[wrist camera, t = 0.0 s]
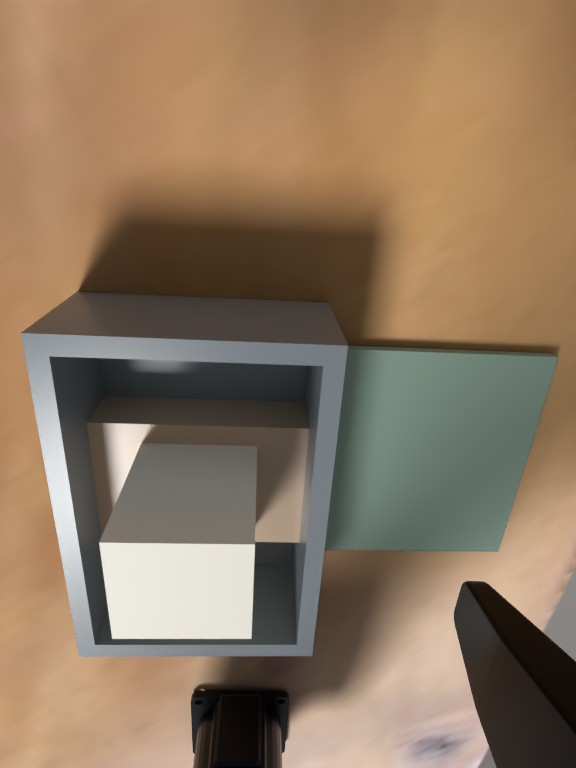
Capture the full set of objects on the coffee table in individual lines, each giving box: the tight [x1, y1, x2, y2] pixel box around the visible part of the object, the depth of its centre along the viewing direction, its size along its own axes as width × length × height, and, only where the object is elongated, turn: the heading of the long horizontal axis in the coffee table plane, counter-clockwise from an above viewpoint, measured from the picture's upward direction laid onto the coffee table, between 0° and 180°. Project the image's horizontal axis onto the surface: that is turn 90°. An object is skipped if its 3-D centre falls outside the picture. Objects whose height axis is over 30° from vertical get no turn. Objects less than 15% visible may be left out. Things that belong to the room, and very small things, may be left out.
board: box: [325, 345, 558, 552], centre depth 26 cm, size 12×10×1 cm
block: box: [99, 443, 257, 639], centre depth 20 cm, size 4×5×6 cm
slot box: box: [21, 291, 348, 657], centre depth 23 cm, size 16×11×6 cm
